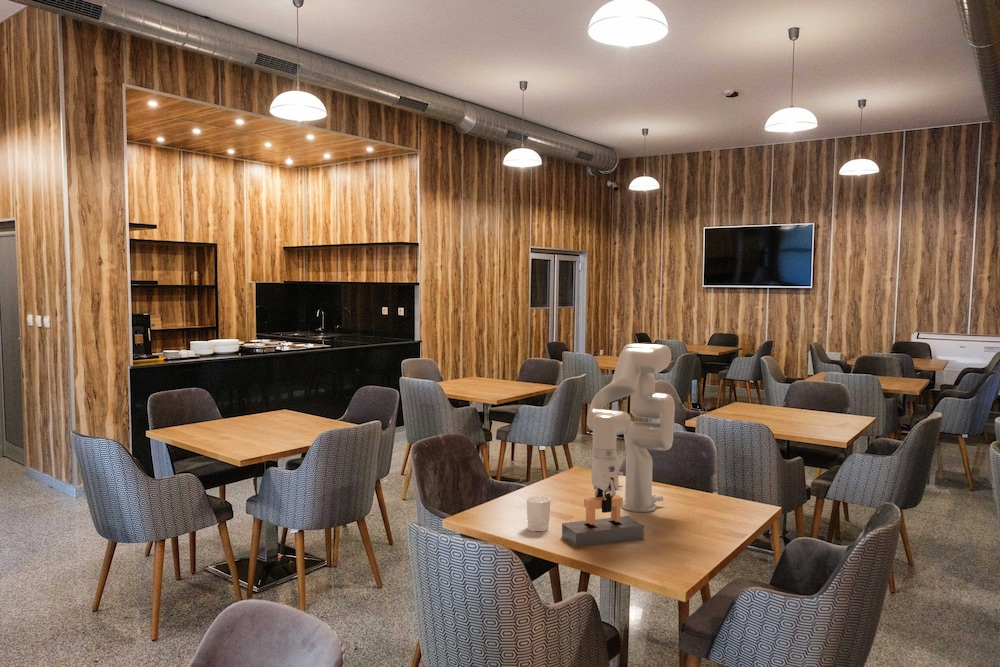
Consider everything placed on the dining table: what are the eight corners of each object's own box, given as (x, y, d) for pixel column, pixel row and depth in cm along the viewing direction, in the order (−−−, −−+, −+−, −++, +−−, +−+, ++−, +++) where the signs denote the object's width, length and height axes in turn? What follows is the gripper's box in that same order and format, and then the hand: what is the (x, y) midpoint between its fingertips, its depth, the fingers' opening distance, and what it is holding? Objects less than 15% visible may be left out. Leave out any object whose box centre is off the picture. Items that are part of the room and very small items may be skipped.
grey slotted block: (627, 529, 234) (628, 515, 234) (643, 539, 224) (644, 525, 224) (561, 537, 226) (562, 523, 225) (575, 547, 216) (576, 533, 216)
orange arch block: (616, 517, 228) (617, 495, 228) (622, 521, 225) (622, 498, 225) (583, 521, 224) (584, 498, 224) (588, 525, 221) (589, 501, 221)
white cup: (533, 534, 228) (534, 503, 228) (521, 526, 235) (522, 497, 235) (554, 530, 232) (555, 500, 231) (542, 523, 239) (542, 494, 238)
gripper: (628, 458, 217) (626, 516, 218) (602, 447, 233) (601, 501, 234) (606, 459, 215) (605, 519, 216) (582, 448, 230) (581, 503, 231)
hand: (603, 509), depth 225 cm, fingers closed on orange arch block, 3 cm apart
